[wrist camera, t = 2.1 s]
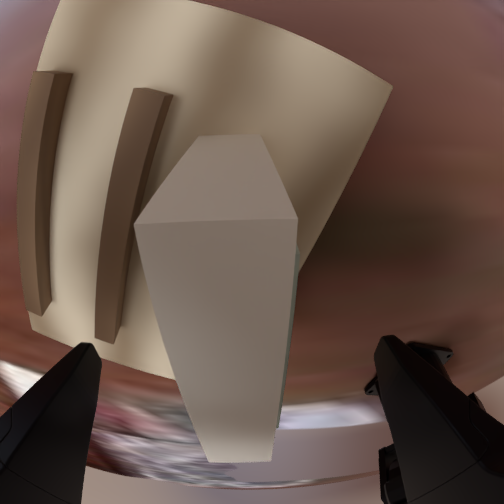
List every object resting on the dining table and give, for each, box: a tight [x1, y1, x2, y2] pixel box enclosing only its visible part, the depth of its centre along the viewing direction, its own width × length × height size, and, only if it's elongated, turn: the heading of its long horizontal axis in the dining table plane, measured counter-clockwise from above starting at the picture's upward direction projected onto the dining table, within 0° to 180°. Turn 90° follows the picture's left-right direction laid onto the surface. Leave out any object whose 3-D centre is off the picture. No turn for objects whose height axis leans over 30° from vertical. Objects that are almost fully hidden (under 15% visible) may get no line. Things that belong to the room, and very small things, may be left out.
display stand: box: [17, 0, 393, 380], centre depth 13 cm, size 15×21×2 cm
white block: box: [134, 134, 300, 462], centre depth 10 cm, size 10×3×8 cm, turn 1°
